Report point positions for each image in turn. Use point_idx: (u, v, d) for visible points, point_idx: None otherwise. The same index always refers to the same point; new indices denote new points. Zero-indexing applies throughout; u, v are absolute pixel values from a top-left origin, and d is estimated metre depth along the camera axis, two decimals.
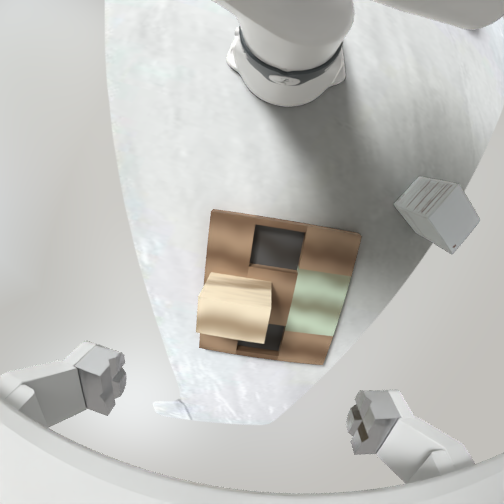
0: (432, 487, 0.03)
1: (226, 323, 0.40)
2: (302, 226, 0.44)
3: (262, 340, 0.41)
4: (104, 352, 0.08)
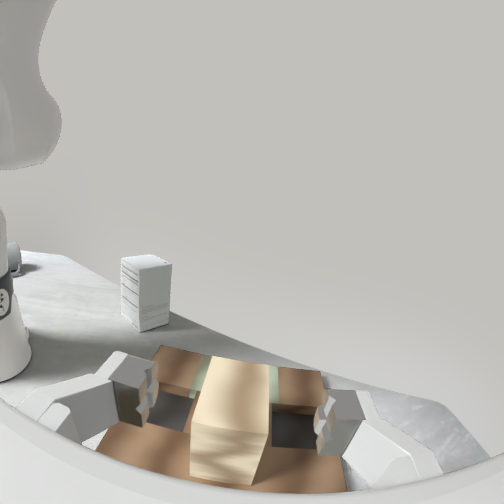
0: (432, 487, 0.03)
1: (240, 396, 0.23)
2: None
3: (263, 365, 0.29)
4: (138, 362, 0.08)
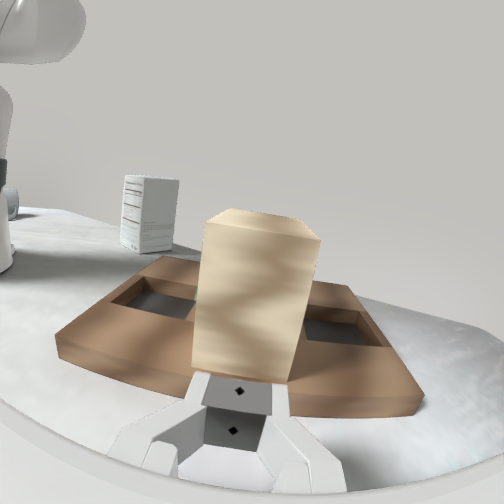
0: (432, 487, 0.03)
1: (272, 222, 0.19)
2: (134, 276, 0.30)
3: (293, 218, 0.24)
4: (225, 382, 0.08)
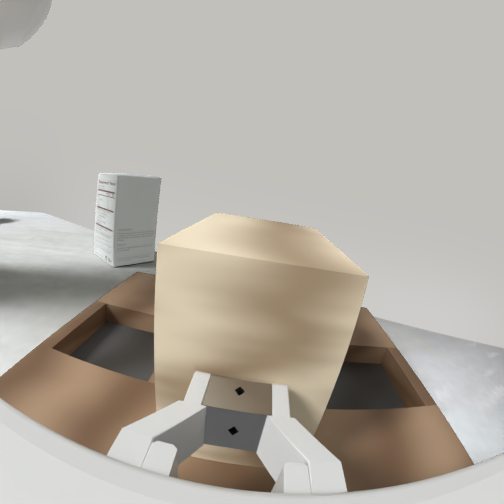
0: (432, 487, 0.03)
1: (278, 236, 0.12)
2: (93, 304, 0.21)
3: (306, 227, 0.17)
4: (225, 382, 0.08)
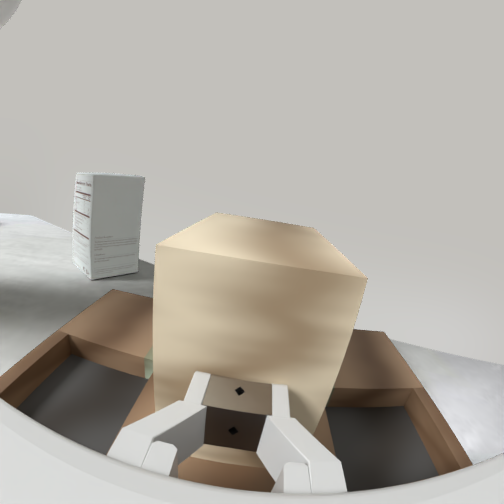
0: (432, 487, 0.03)
1: (276, 237, 0.12)
2: (53, 335, 0.16)
3: (305, 227, 0.17)
4: (225, 382, 0.08)
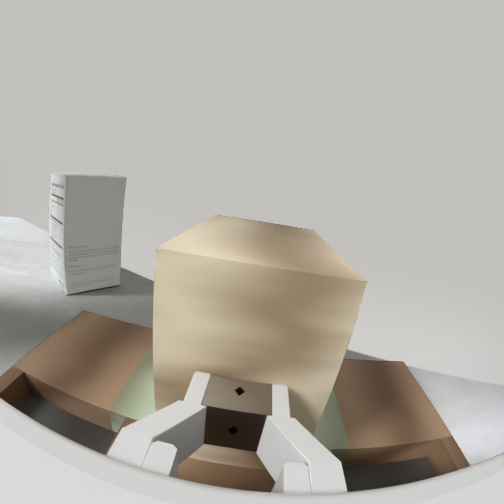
0: (432, 487, 0.03)
1: (276, 240, 0.12)
2: (7, 373, 0.11)
3: (305, 229, 0.17)
4: (225, 382, 0.08)
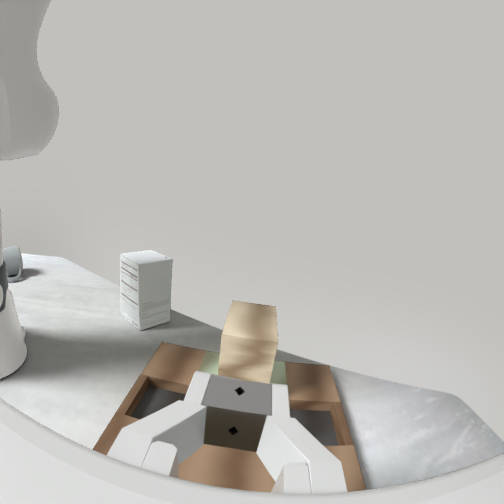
0: (432, 487, 0.03)
1: (256, 321, 0.34)
2: (139, 377, 0.32)
3: (271, 306, 0.39)
4: (225, 382, 0.08)
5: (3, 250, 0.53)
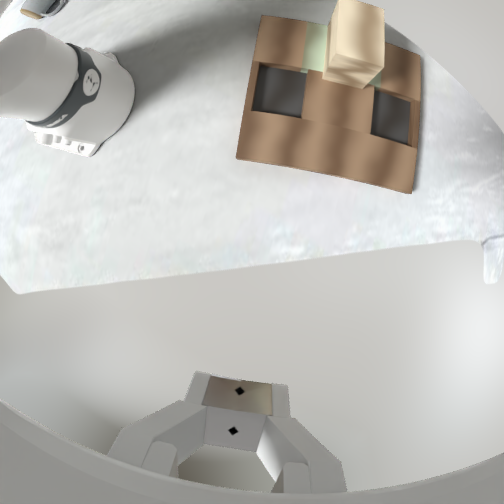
0: (432, 487, 0.03)
1: (365, 33, 0.25)
2: (252, 65, 0.35)
3: (380, 9, 0.24)
4: (225, 382, 0.08)
5: (29, 0, 0.26)
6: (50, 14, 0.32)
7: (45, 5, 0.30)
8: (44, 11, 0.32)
